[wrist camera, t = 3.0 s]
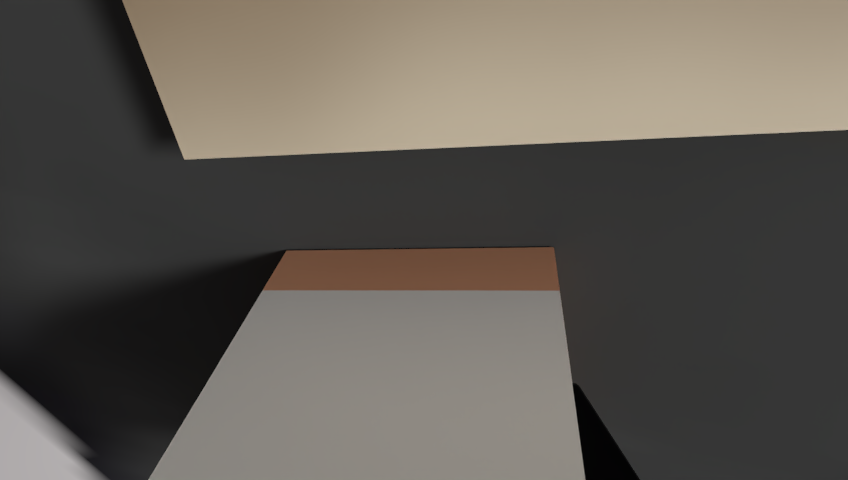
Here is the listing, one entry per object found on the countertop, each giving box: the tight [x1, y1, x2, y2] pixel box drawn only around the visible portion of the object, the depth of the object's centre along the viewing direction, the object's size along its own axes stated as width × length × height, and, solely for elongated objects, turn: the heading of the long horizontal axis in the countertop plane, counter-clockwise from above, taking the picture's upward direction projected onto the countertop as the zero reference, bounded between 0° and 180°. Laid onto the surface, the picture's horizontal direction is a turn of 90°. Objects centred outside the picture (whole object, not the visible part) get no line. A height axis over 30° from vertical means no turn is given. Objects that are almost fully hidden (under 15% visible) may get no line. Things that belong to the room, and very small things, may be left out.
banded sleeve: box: [148, 247, 585, 480], centre depth 8 cm, size 5×5×6 cm
